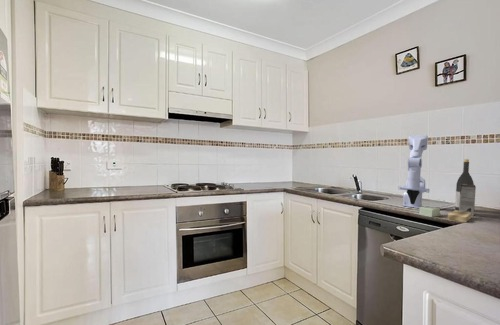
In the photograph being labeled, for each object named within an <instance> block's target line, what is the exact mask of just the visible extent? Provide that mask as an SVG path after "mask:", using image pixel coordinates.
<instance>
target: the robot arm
mask: <svg viewBox="0 0 500 325" xmlns="http://www.w3.org/2000/svg"><path fill="white" fill-rule="evenodd" d="M428 141H429V136H428V134H426V135H424V134H421V135H417V134H416V135H411V134H410V135H409V136H408V140H407V142H408V149H409V150H410V152H409V158H407V179H406V181H405V185H404V186H403V185H399V186H398V187H397V189H398V190H402V191H404V192H403V194H402V195H403V196H402V199H403V200H402V207H408V208H413V207H414V208H415V209H420V207H425V206H424V205H423V204H422V203H423V193H427V194H428V193H430V188H426V180H425V178H423V177H422V176H421V171H422V170H421V169H422V166H423V159H422V158H423V152H424V151H427V148H428Z"/></svg>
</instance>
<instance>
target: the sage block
mask: <svg viewBox="0 0 500 325" xmlns="http://www.w3.org/2000/svg"><path fill="white" fill-rule="evenodd" d="M440 212H441V208H439V207H436V206H435V207H434V206H427V205H426V206H424V207H420V208H419V213H418V214H419V215H420V216H426V217H429V218H432V217H433V218H434V217H438V216H440V215H441V213H440Z"/></svg>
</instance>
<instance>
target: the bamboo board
mask: <svg viewBox="0 0 500 325" xmlns="http://www.w3.org/2000/svg"><path fill="white" fill-rule="evenodd" d="M472 217H473V216H472V213H470V212H463V211H459V210H457V209H454V210H453V211H451V212H449V213H447V219H446V220H447V221H448V220H449V221H454V222H455V221H456V222H462V223H467V222H469V220H471V219H472Z"/></svg>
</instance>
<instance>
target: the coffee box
mask: <svg viewBox="0 0 500 325" xmlns="http://www.w3.org/2000/svg"><path fill="white" fill-rule="evenodd" d="M476 189H477V188H476V185H475V184H474V185H470V184H460V196H459V210H458V211H463V212H470V213H472V217H475V204H476Z"/></svg>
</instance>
